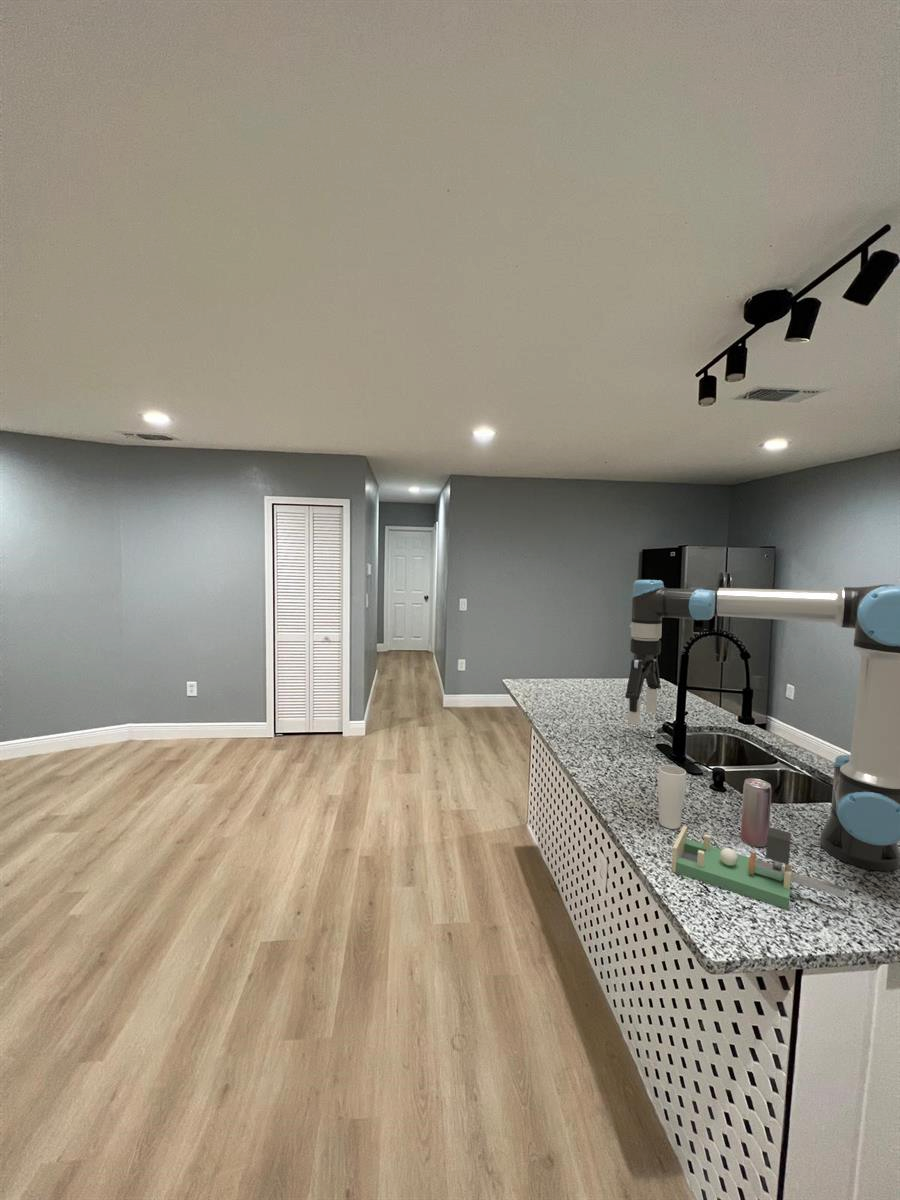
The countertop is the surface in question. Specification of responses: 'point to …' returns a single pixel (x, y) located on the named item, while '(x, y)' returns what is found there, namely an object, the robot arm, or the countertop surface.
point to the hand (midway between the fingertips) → (642, 717)
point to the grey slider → (780, 854)
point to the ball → (729, 856)
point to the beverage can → (756, 812)
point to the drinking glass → (671, 795)
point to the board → (728, 871)
